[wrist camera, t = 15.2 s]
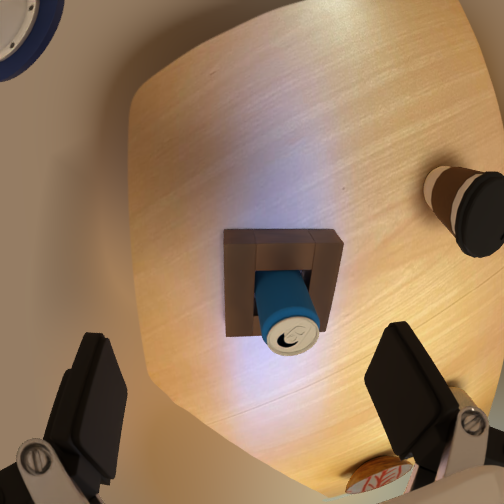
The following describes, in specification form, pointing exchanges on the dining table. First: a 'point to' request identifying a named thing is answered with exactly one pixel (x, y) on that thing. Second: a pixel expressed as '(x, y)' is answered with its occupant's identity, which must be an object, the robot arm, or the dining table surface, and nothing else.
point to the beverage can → (285, 312)
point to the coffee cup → (468, 207)
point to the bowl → (377, 473)
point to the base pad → (277, 258)
